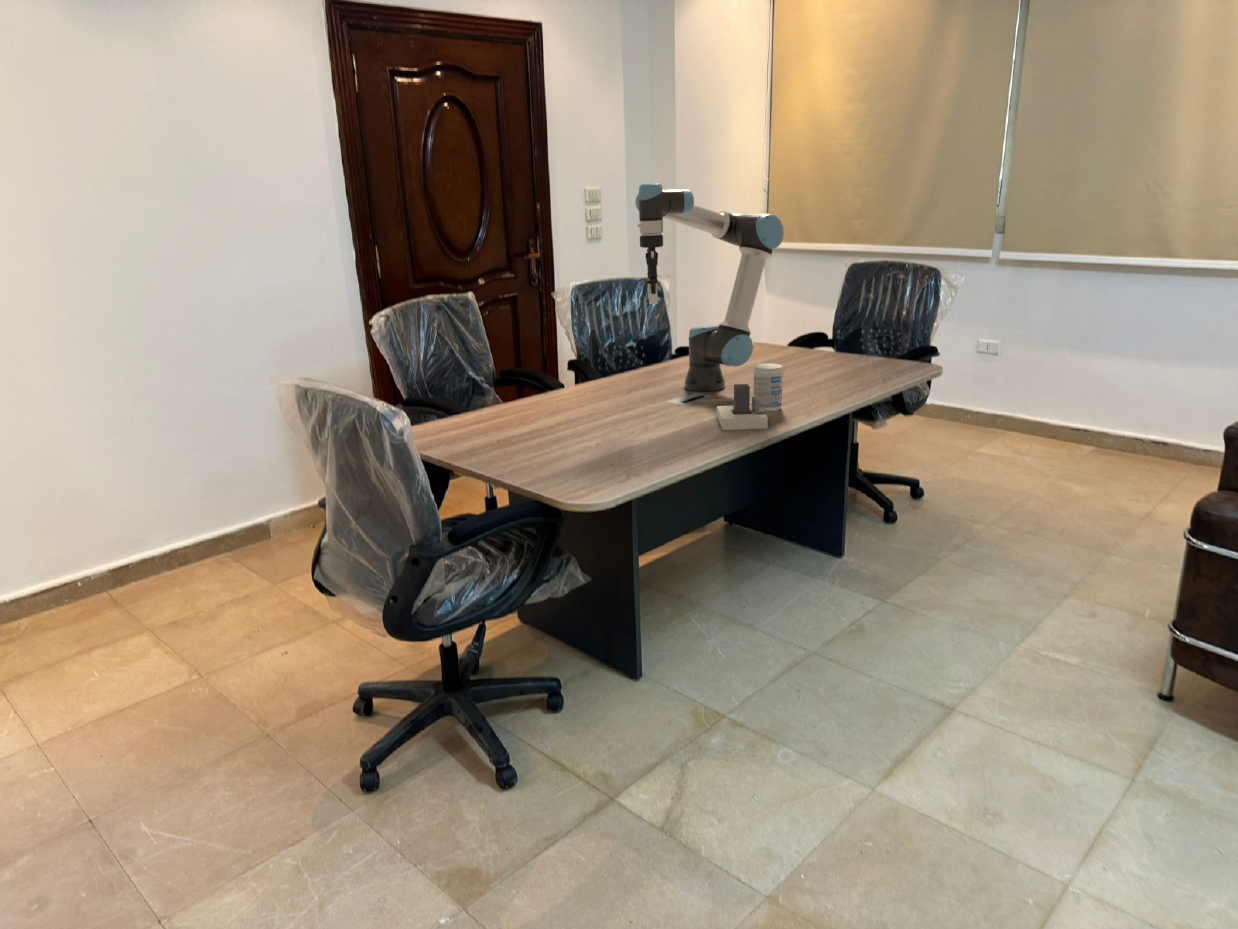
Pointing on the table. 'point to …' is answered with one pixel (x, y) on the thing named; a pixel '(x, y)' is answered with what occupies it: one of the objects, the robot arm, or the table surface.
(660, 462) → the table surface
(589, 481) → the table surface
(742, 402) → the plug
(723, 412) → the socket plate
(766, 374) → the supplement tub
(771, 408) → the plate
